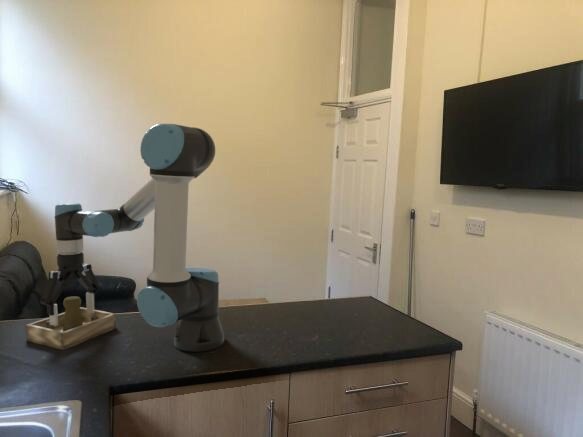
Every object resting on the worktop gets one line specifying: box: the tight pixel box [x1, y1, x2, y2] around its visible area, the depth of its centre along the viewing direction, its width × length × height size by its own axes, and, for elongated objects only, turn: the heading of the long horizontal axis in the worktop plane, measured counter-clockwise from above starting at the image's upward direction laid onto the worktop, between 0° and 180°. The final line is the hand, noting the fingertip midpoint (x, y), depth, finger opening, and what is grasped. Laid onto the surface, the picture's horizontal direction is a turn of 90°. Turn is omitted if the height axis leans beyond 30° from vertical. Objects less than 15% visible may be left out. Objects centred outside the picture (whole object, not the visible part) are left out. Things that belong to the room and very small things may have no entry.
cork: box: [62, 295, 83, 332], centre depth 140 cm, size 6×6×11 cm
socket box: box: [25, 306, 117, 351], centre depth 141 cm, size 16×20×5 cm
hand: (73, 318), depth 140 cm, fingers open, 13 cm apart
